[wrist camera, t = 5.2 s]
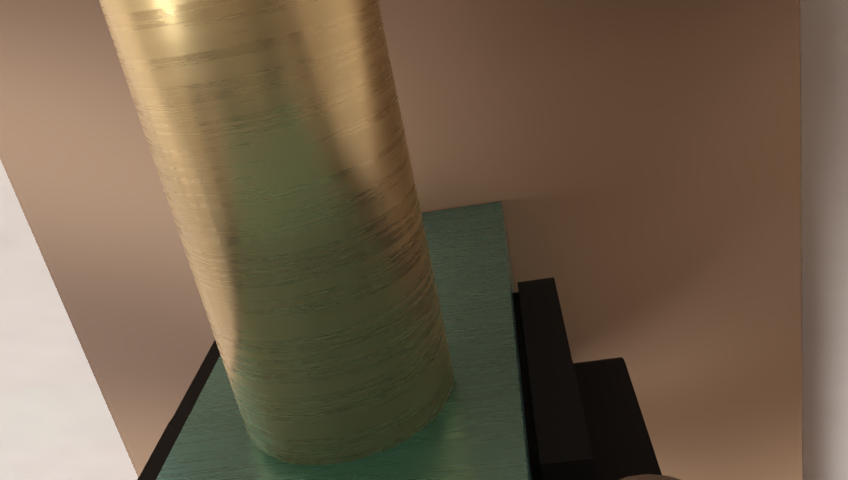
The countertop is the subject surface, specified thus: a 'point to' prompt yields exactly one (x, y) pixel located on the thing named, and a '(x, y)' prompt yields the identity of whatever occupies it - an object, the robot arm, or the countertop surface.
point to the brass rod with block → (321, 252)
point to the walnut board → (485, 199)
